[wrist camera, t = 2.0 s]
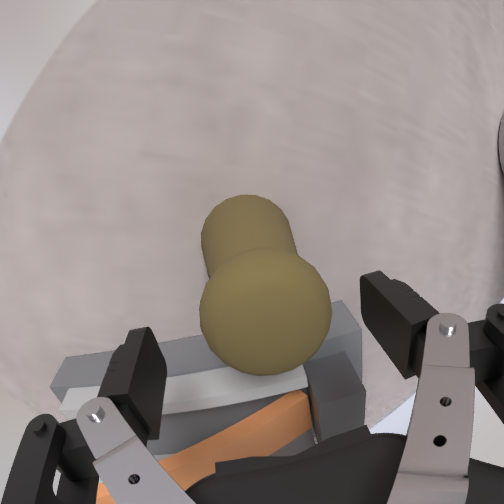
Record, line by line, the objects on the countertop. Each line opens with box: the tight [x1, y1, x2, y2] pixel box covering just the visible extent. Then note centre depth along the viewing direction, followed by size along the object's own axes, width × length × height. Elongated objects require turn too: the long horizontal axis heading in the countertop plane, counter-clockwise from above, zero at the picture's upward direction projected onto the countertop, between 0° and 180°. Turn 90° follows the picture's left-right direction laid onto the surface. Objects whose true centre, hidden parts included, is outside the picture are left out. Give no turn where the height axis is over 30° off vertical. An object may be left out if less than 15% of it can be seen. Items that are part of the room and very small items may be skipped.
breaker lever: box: [96, 389, 312, 504], centre depth 17 cm, size 17×4×1 cm, turn 103°
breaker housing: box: [50, 300, 366, 461], centre depth 21 cm, size 24×11×8 cm, turn 103°
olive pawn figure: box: [199, 195, 332, 376], centre depth 16 cm, size 6×6×11 cm
